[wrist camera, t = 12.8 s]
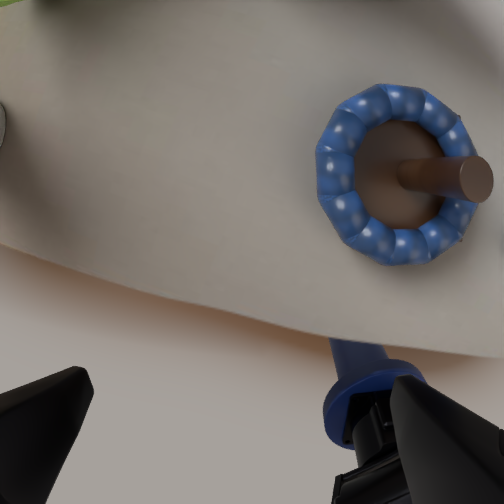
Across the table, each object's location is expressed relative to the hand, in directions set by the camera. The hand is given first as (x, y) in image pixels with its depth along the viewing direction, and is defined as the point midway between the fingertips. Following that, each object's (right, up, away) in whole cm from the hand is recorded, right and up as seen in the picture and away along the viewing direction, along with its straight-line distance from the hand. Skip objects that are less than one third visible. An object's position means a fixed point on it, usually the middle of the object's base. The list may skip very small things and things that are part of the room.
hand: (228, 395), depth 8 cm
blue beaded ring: (+9, +8, +7) cm, 14 cm away
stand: (+10, +9, +9) cm, 16 cm away
